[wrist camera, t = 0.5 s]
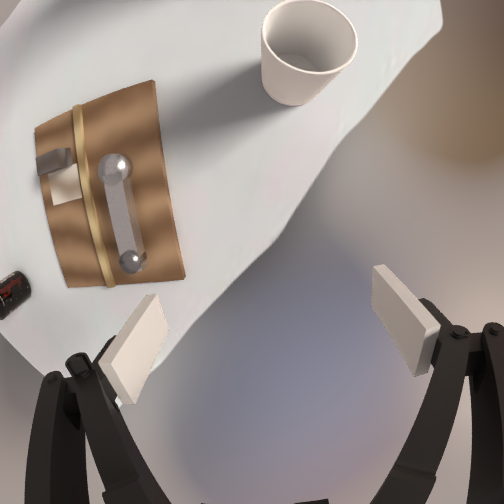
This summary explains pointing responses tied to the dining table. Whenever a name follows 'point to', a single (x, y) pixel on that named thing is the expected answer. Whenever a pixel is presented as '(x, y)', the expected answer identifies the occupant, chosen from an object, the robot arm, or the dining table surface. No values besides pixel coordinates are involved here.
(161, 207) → the door board
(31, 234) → the dining table surface
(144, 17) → the dining table surface
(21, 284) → the beverage can
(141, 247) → the bar
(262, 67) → the cup
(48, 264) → the dining table surface
